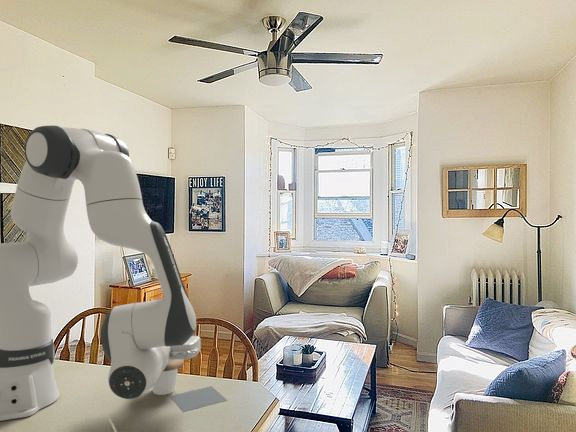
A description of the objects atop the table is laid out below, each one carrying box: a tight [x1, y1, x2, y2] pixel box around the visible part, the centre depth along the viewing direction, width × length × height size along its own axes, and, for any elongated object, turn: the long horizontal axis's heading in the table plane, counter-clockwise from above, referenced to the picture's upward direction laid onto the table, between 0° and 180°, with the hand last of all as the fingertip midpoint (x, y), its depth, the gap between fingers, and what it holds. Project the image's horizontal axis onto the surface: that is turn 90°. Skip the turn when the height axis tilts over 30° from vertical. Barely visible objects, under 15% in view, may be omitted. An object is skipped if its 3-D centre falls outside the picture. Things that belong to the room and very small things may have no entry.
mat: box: [169, 385, 228, 413], centre depth 106 cm, size 11×10×1 cm
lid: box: [163, 359, 185, 371], centre depth 110 cm, size 10×10×11 cm
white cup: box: [151, 368, 179, 396], centre depth 111 cm, size 7×7×7 cm
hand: (164, 337), depth 111 cm, fingers open, 3 cm apart
